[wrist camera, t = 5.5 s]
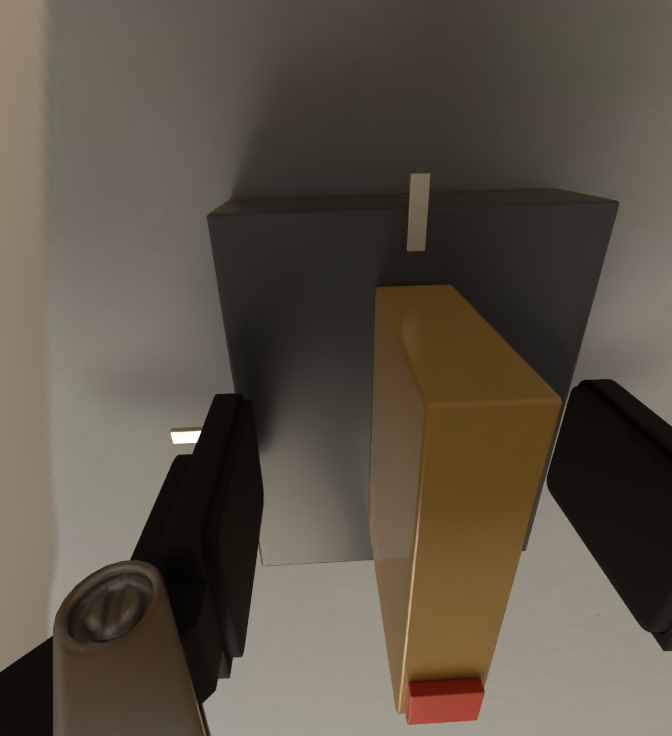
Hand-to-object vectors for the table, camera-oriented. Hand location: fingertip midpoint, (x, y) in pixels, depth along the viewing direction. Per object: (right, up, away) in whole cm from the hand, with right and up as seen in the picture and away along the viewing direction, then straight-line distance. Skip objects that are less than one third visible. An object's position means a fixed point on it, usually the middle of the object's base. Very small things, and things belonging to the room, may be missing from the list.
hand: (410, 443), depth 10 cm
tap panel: (0, +2, +3) cm, 3 cm away
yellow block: (0, 0, +1) cm, 1 cm away
